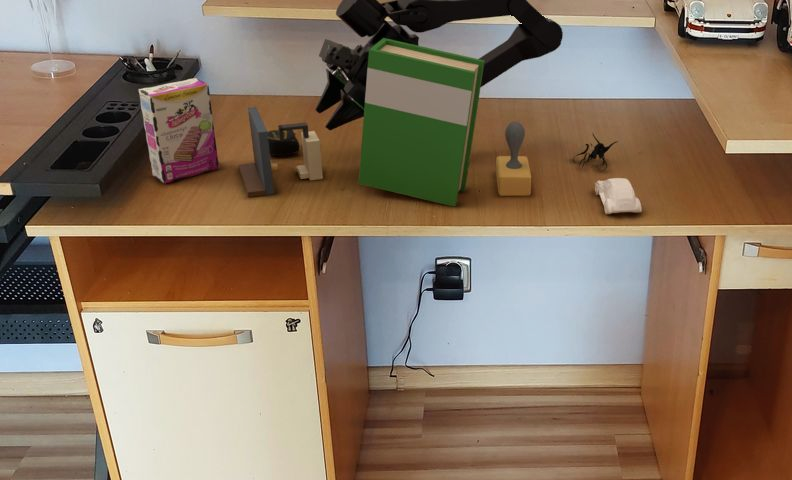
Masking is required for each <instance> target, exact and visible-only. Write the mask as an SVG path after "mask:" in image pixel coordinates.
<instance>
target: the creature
mask: <svg viewBox="0 0 792 480" xmlns="http://www.w3.org/2000/svg"><path fill="white" fill-rule="evenodd" d="M592 136H593V138H594V140H595V141H596V142H597V144H595V146H594V145H593V144H592V143H590V144H589V143H585V147H586V148H585V149H584V151H582V152H580V153H577V154H576V155H575V157H576V156H577V157H578V156H580V155H584V156H583V158H582V159H581V160H580V161H579V164H578V166H579V167H580V166H581V168H583V167H584V165H585V163H586V164H587V163H590V161H592V160H595V159H596V158H597V156H598V158H599V160H601V159H602V164H601V165H600V167H602V166H604V165H605V168H604V169H603V170H600V168H599V167H598V165H595V167H596V168H597V170H598V171H599V172H604V171H605V170H607V168H608V163H607V161H606V160H605V153H607V152H608V151H609V150H610V149H611V148H612V146H613V145H615V144H616V143H618V142H619V141H618V140H615V141H614V142H612V143H610V144H609V145H607V146H605V145H604V143H602V142H600V140H598V138H597V137H596V136H595V134H594V132H592ZM590 146H591V148H593V149H592V150H591V152H590V153H589V152H588V151H589V149H590ZM587 156H588V157H587ZM575 157H573V158H572V162H573V163H575V160H574V159H575ZM586 158H587V159H586ZM582 163H583V164H582ZM581 164H582V165H581Z"/></svg>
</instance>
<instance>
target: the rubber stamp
mask: <svg viewBox="0 0 792 480" xmlns="http://www.w3.org/2000/svg"><path fill="white" fill-rule="evenodd" d="M525 130H526V129H525V127H524V125H523V124H522V123H521V122H518V121H512V122H510V123H509V124H508V125H507V126H506V128H505V132H504V133H505V135H504V136H505V140H506V143H507V146H508V150H509V154H510V155H498V156H497V157H496V158H495V159H496V161H495V162H496V163H495V177H496V185H497V193H498V195H499V196H502V197H503V196H504V197H505V196H508V197H509V196H514V197H515V196H518V197H519V196H526V197H527V196H530V195H531V193H532V173H531V169H530V164H529V163H530V162H529V158H528V157H527V156H524V155H519V153H520V149H521V147H522V145H523V143H524V139H525V135H526V131H525Z"/></svg>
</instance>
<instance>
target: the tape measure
mask: <svg viewBox="0 0 792 480" xmlns="http://www.w3.org/2000/svg"><path fill="white" fill-rule="evenodd" d="M283 133H284V141H281V140H280V138H279V129H271V130H267V134H268V143H269V152H270V156H271V155H272V156H287V155H290V154H295V153H298V152H299V151H300V142H299V140H298V138H297V136H296V133H295V132H294V130H287V131H283Z"/></svg>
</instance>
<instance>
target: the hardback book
mask: <svg viewBox="0 0 792 480" xmlns="http://www.w3.org/2000/svg"><path fill="white" fill-rule="evenodd" d="M484 61H485V60H480V59H479V58H475V57H470V56H466V55H462V54H457V53H453V52H448V51H443V50H439V49H435V48H430V47H427V46H421V45H419V46H417V45H413V44H408V43H404V42H399V41H395V40H390V39H386V38H383V39H382V40H380V41H379V42H378V43H377V44H375V45H374V46H373V47H372V48H370V49H369V57H368V69H367V82H366V94H365V107H364V117H363V120H362V135H361V144H360V145H361V146H360V147H361V148H360V157H359V158H360V160H359V170H358V171H359V174H358V182H357V183H358V184H359V185H362V186H367V187H371V188H374V189H379V190H383V191H388V192H392V193H395V194H399V195H404V196H408V197H412V198H417V199H420V200H425V201H429V202H433V203H438V204H442V205H446V206H450V207H457V203H458V196H459V192H463V193H465V191H466V187H467V181H468V174H469V168H470V167H469V166H470V161H471V160H470V159H471V155H472V154H471V153H472V147H473V140H474V133H475V127H476V120H477V114H478V107H479V101H480V100H479V99H480V94H481V88H482V87H481V81H482V74H483V68H484Z"/></svg>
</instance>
